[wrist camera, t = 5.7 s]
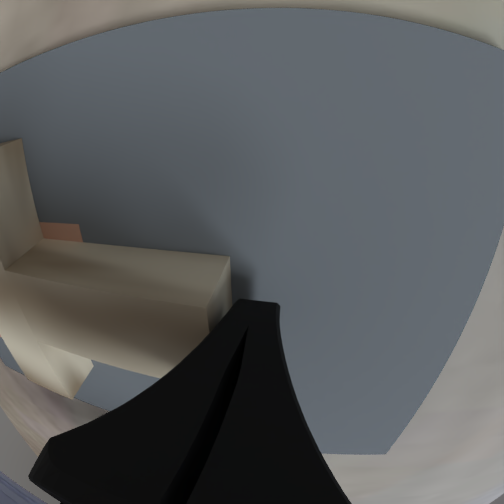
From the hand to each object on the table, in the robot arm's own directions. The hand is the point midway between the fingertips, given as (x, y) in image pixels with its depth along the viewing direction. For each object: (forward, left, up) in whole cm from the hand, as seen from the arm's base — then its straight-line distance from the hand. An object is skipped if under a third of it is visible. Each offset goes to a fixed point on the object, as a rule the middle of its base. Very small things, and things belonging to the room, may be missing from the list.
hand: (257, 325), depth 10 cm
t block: (0, +8, -1) cm, 8 cm away
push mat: (-1, +7, -2) cm, 7 cm away
